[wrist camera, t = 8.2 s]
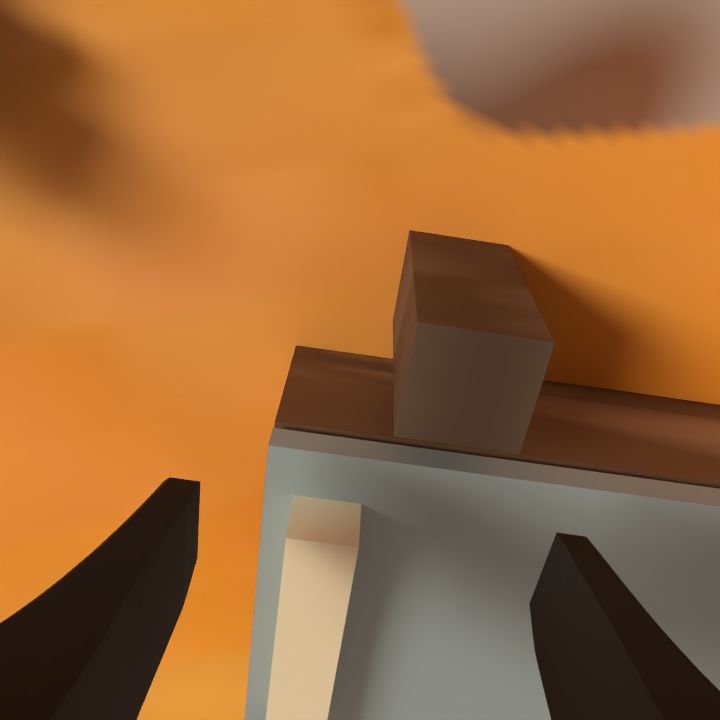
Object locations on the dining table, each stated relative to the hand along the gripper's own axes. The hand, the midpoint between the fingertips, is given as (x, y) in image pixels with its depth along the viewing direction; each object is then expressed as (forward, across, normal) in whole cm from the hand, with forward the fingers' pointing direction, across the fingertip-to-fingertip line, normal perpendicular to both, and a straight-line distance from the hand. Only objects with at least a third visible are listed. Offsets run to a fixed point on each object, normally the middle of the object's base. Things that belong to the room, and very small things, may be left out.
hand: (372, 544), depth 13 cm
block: (+9, -2, -2) cm, 10 cm away
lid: (+5, -5, +7) cm, 9 cm away
